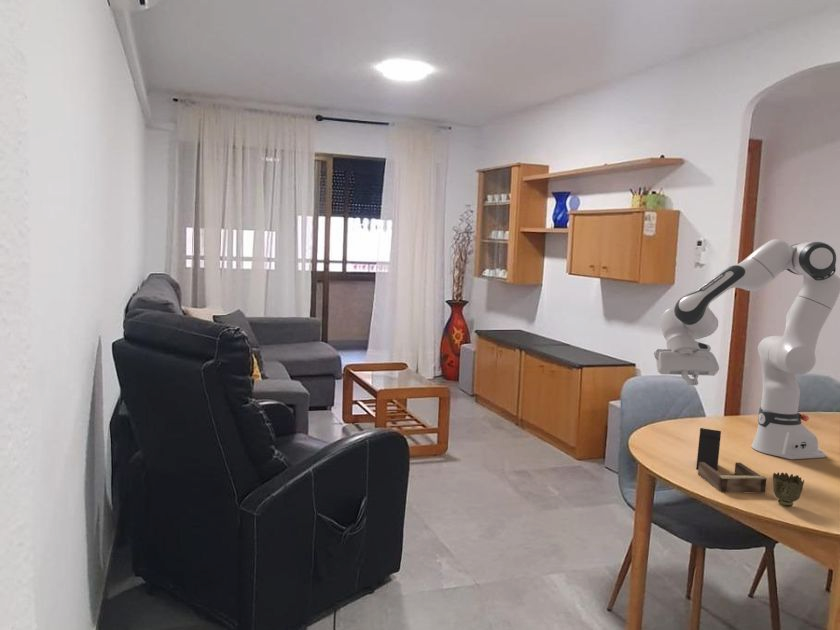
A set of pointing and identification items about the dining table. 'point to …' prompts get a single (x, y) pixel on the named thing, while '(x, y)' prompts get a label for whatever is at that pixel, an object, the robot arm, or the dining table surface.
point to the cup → (787, 488)
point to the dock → (734, 479)
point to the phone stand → (709, 447)
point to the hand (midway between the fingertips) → (693, 384)
